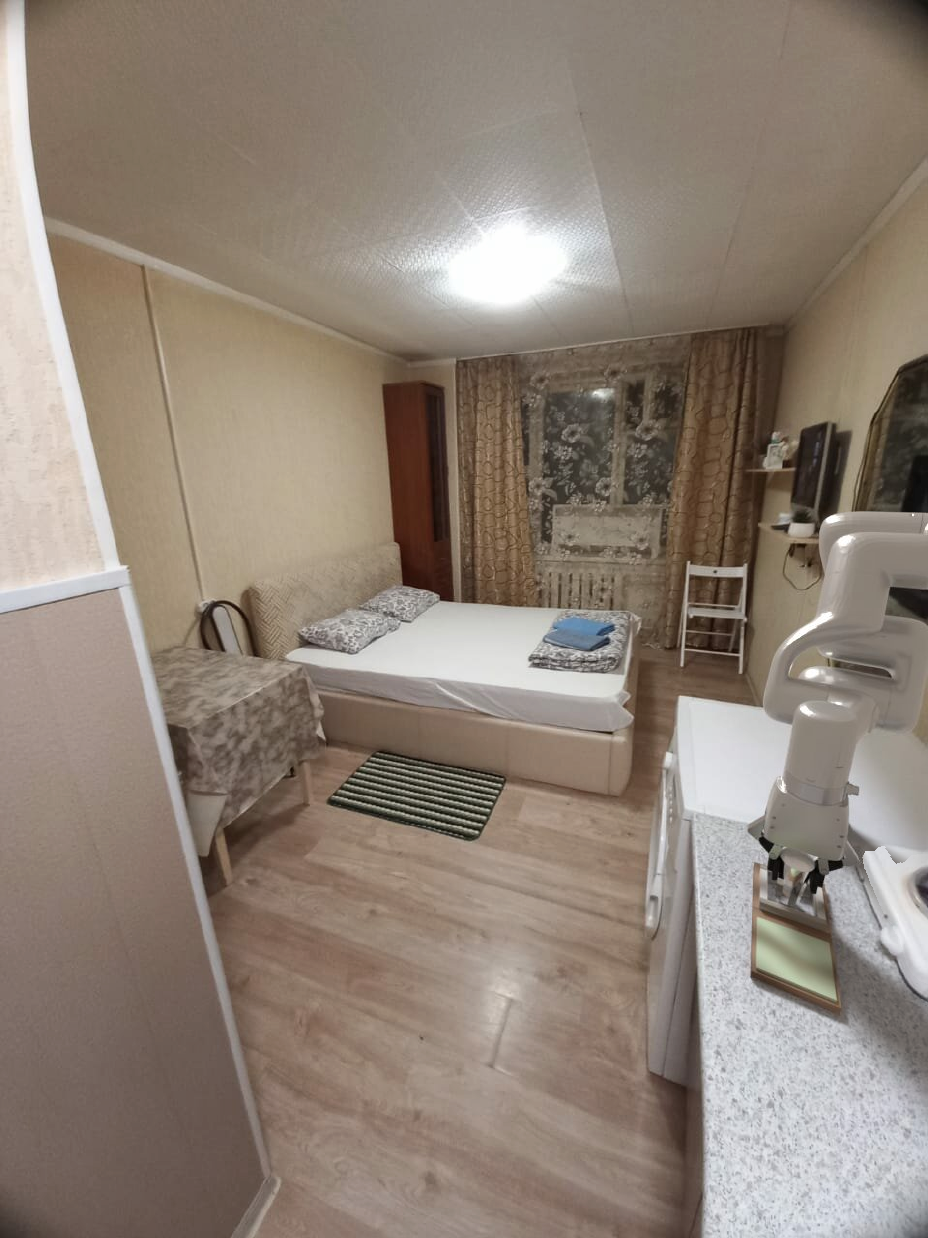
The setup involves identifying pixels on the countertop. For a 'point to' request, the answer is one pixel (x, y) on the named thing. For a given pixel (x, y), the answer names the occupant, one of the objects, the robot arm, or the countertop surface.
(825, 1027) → the countertop surface
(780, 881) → the milkshake
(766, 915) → the board
